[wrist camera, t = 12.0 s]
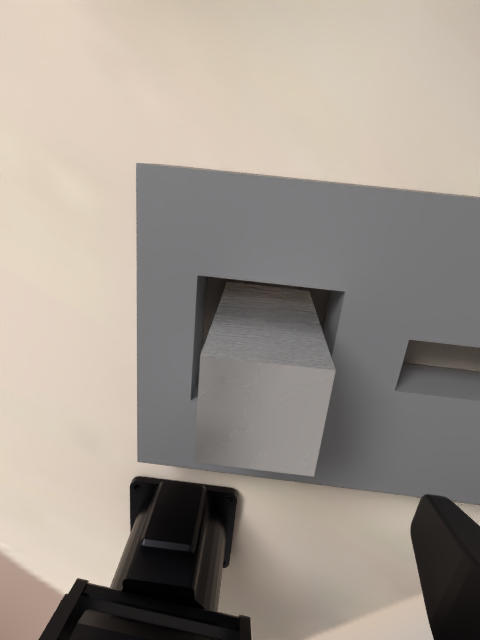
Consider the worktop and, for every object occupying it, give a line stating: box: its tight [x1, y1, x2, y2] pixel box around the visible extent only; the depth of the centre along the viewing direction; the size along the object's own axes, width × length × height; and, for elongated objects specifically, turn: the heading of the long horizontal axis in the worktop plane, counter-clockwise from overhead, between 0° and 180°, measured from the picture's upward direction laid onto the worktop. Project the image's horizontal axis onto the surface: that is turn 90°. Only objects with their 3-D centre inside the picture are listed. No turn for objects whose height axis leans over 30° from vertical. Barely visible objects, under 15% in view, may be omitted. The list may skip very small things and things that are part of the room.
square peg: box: [194, 282, 336, 477], centre depth 16 cm, size 4×4×8 cm
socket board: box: [136, 163, 480, 505], centre depth 18 cm, size 14×20×3 cm
